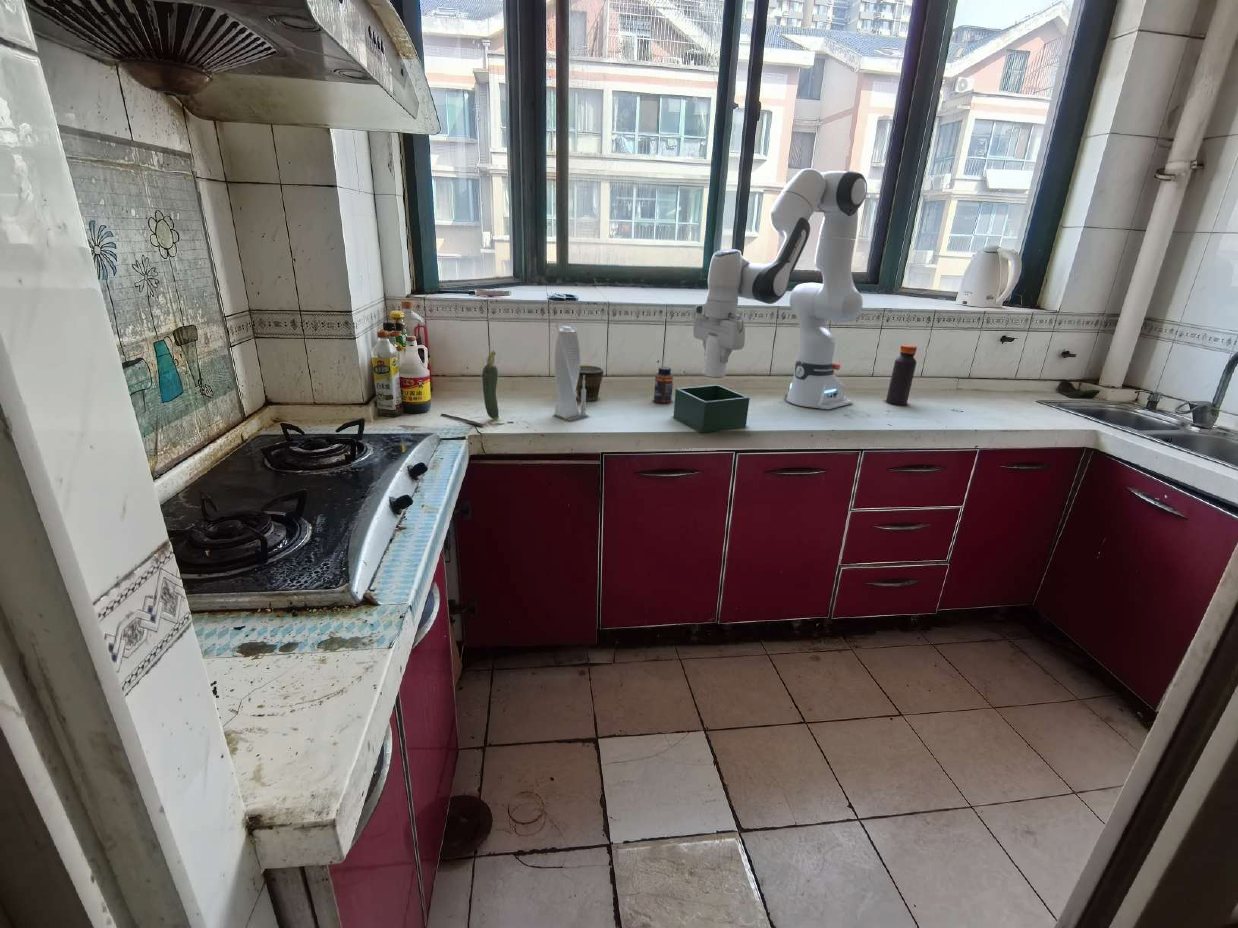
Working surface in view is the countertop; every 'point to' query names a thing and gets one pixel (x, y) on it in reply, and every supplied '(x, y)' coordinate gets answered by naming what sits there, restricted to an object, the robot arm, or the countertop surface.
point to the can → (713, 359)
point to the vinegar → (902, 376)
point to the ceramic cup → (589, 382)
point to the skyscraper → (568, 373)
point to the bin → (711, 408)
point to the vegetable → (490, 387)
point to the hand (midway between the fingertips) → (715, 359)
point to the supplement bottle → (663, 385)
